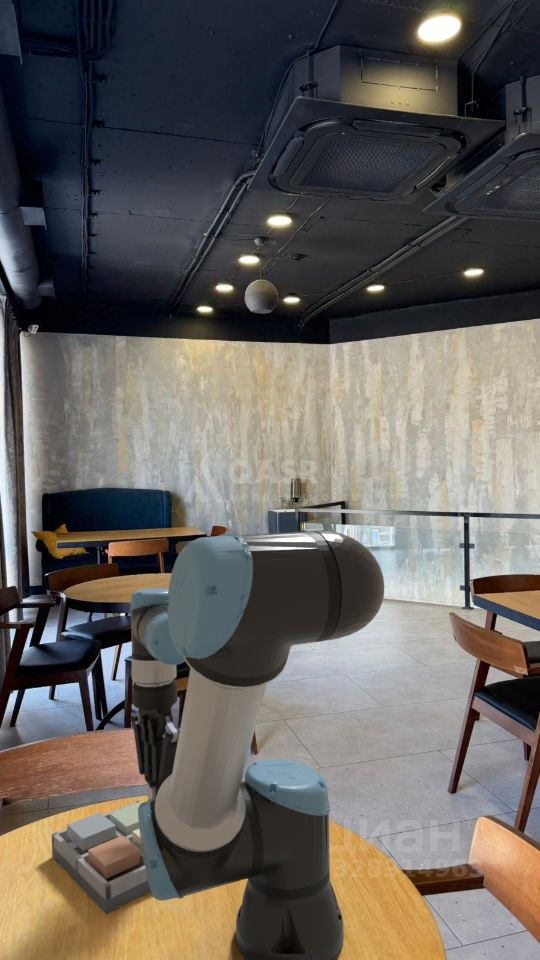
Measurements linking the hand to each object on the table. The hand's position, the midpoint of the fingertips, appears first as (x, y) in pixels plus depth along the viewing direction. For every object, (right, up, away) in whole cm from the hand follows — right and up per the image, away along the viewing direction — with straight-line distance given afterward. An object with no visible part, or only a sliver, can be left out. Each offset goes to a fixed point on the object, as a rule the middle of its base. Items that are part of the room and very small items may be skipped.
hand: (157, 821), depth 107 cm
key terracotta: (-6, -4, -5) cm, 9 cm away
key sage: (-5, -4, +6) cm, 9 cm away
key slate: (-11, -3, +1) cm, 12 cm away
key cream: (0, -4, 0) cm, 4 cm away
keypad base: (-6, -7, +1) cm, 9 cm away
